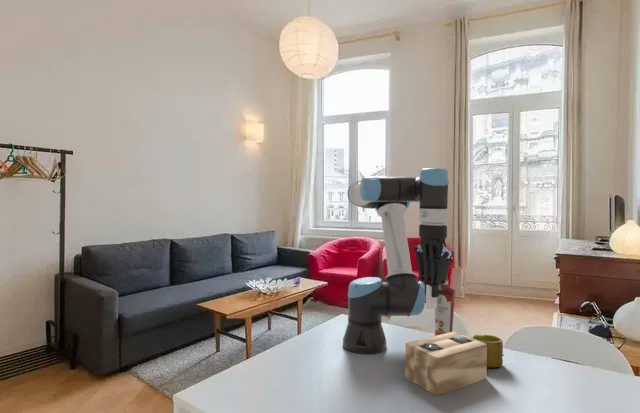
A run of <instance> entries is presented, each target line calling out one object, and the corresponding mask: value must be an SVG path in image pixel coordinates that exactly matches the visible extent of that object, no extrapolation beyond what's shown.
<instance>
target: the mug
mask: <svg viewBox="0 0 640 413" xmlns="http://www.w3.org/2000/svg"><path fill="white" fill-rule="evenodd" d="M470 338H472V339H475V340H477V341H480V342H483V343H485V344H487V369H495V368H499V367H502V365H503V362H504V359H503V353H504V351H503V350H504V342H503V339H502V338H501V337H499V336H496V335H491V334H482V333H476V334H475V335H472V336H471V337H470Z"/></svg>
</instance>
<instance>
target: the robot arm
mask: <svg viewBox="0 0 640 413" xmlns="http://www.w3.org/2000/svg"><path fill="white" fill-rule="evenodd" d="M449 183H450V182H449V172H448V170H447V169H446V168H443V167H441V168H439V167H433V168H432V167H430V168H429V167H426V168H422V169H421V170H420V174H419V176H376V175H370V176H369V175H368V176H363V177H362V178H361V180H357V181H355V182H353V183H351V184H350V185H349V186H348V188H347V198H348V200H349V202H350V203H351V204H352V205H355V206H356V207H358V208H362V209H370V210H371V209H375V210H376V213H377V215H378V217H381V225H382V232H383V240H384V241H383V242H384V250H385V257H386V258H385V259H386V265H387V275H386V276H385V278H384V281H383V280H382V278H381V277H377V276H374V277H373V276H366V277H365V276H364V277H361V278H356V279H353V280H352V281H350V283H349V285H348V292H347V297H348V300H347V301H348V302H347V303H348V304H347V306H348V308H347V310H348V312H347V326H346V328H345V331H344V335H343V337H342V347H343V348H344V349H345V350H348V351H350V352H352V353H355V354H364V355H368V354H369V355H371V354H379V353H382V352H384V351H385V350H386V349H387V337H386V335H385V334H386V333H385V331H384V328H383V325H382V319H383V318H382V317H406V316H407V317H411V316H419V315H421V313H422V312H423V311H424V310H425V309H428V310H432V309H433V310H434V308H437V297H438V296H439V286H440V285H442V284H445V282H446V277H447V273H449V268H450V264H451V259H452V258H453V256H454V251H453V250H449V249H448V248H447V244H446V239H447V238H448V226H447V223H448V200H449V199H448V198H449ZM414 202H416V203H419V215H418V216H419V217H418V220H419V223H420V224H419V225H418V237H419V238H420V241H419V244H417V246H416V245H415V246H413V247H412V249H413V251H414V254H415V258H416V259H415V260H416V267H417V273H418V274H416V273H415V272H413V269H412V263H411V262H412V261H411V257H410V256H411V255H410V249H409V243H408V242H409V241H408V236H407V229H406V224H405V223H406V222H405V216H404V214H406V212H407V211H408V210H407V209H408V208H409V207H410V204H411V203H414ZM418 279H419V281H418Z"/></svg>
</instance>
